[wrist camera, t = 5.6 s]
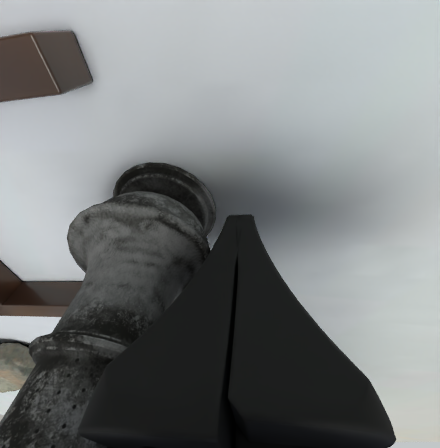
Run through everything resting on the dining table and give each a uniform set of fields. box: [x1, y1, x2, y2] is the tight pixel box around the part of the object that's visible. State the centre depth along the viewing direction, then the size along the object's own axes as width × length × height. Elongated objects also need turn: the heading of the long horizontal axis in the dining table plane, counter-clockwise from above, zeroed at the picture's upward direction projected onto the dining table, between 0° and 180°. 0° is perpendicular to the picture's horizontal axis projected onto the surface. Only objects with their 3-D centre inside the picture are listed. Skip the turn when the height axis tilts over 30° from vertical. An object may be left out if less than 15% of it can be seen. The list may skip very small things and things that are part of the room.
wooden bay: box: [0, 30, 92, 317], centre depth 13 cm, size 15×14×2 cm
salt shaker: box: [0, 163, 215, 448], centre depth 8 cm, size 6×6×12 cm
